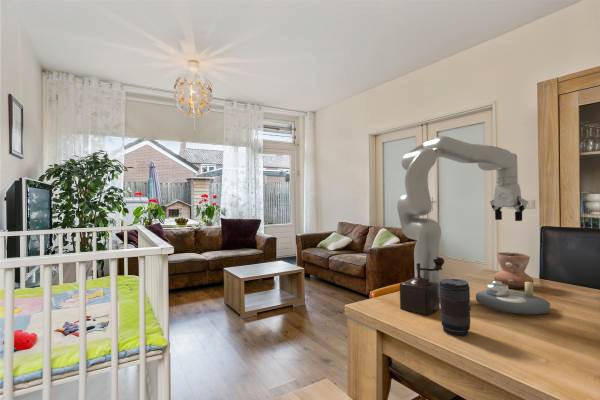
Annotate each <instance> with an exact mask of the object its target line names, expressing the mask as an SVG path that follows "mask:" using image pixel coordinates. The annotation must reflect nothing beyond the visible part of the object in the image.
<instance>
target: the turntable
mask: <svg viewBox="0 0 600 400" xmlns="http://www.w3.org/2000/svg"><path fill="white" fill-rule="evenodd" d="M508 291H509V296H507V297H497V296H491V295H488V294H487V289H486V290H481V291H477V292H476V293H475V300H476V302H477V303H479V304H480V305H481V306H482V305H483V306H484V307H488V308H490V309H494V310H497V311H502V312H507V313H514V314H523V315H524V314H525V315H538V314H539V315H540V314H546V313H548V312H550V311H551V303H550V302H549V301H548V300H546V299H545V298H542V297H539V296H536V295H534V282H533V283H532V282H525V288H524V292H520V291H514V290H513V291H512V290H508Z"/></svg>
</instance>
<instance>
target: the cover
mask: <svg viewBox="0 0 600 400" xmlns="http://www.w3.org/2000/svg"><path fill="white" fill-rule="evenodd" d="M485 287H486V290H487V294H488V295H491V296H497V297H507V296H509V291H510V290H509V287H508V285H506V284H502V282H501V281H495V280H492V281H491V282H487V283H486V285H485Z"/></svg>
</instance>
